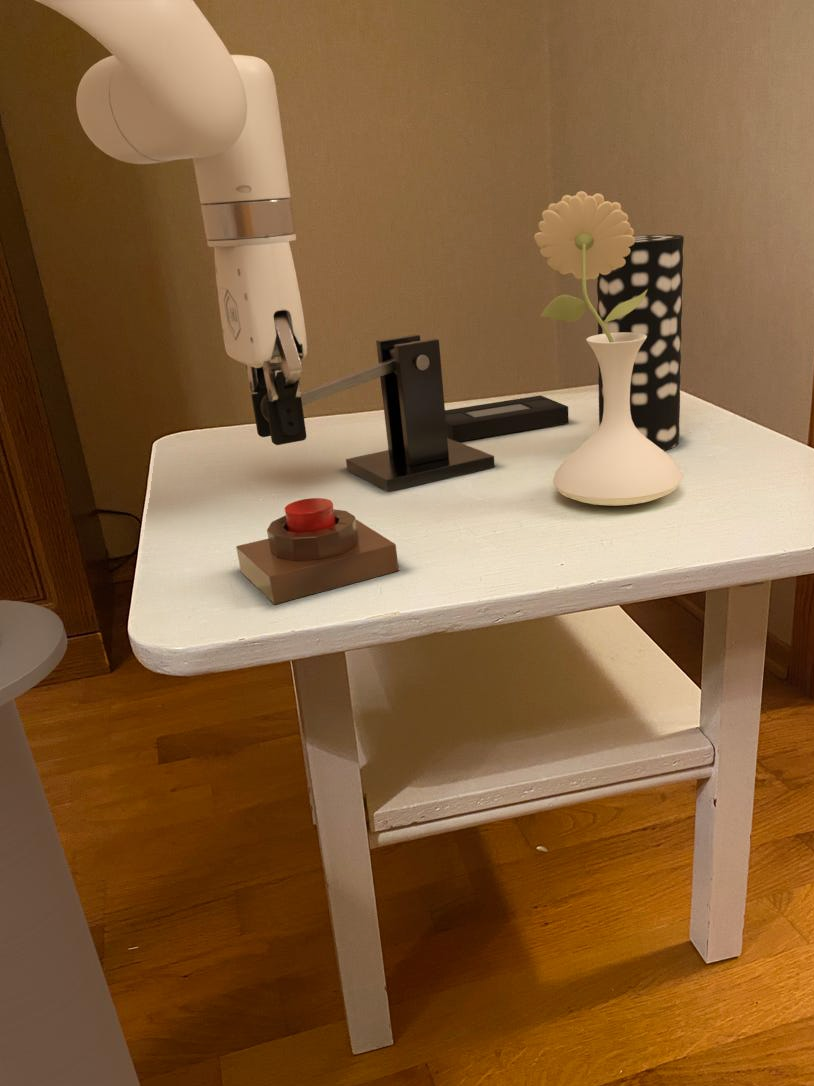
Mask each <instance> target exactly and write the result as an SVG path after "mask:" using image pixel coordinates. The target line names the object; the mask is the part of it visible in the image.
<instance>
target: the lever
mask: <svg viewBox="0 0 814 1086" xmlns="http://www.w3.org/2000/svg"><path fill="white" fill-rule="evenodd" d="M413 342H414V341H413ZM389 353H390V357H391V359H389V360H386V361H383V362H381V363H379V362H378V363H375V364H372V365H369V366H367V367H365V368H362V369H358V370H356V371H353V372H351V373H348V374H345V375H342V376H340V377H337V378H334V379H332V380H329V381H326V382H324V383H321V384H318V385H316V386H313V387H310V388H308V389H307V388H306V389H305V390H304V389H303V390H301V400H302V407H304V406H306V405H308V404H311V403H314V402H316V401H319V400H322V399H324V398H327V397H330V396H332V395H336V394H338V393H340V392H343V391H346V390H348V389H352V388H354V387H356V386H360V385H361V384H365V383H367V382H370V381H373V380H375V379H378V378H380V377H381V376H384V375H386V374H389V373H392V372H395V374H397V372H396V362H395V353H394V349H391V350H389ZM268 400H270V399H269V396H268V393H266V394H265V395H264V397H263V398H262V401H261V412H262V415H263V416H264V418H265V419H266V420H267V421H268V415H267V408H266V402H265V401H268ZM268 422H269V421H268Z"/></svg>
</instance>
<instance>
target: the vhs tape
mask: <svg viewBox="0 0 814 1086" xmlns="http://www.w3.org/2000/svg"><path fill="white" fill-rule="evenodd" d="M445 417H446V429H447V438H449V439H452V440H454V441H457V442H459V443H460V442H465V441H471V440H476V439H481V438H482V439H483V438H488V437H489V438H490V437H494V436H500V435H505V434H512V433H518V432H523V431H529V430H535V429H541V428H547V427H552V426H553V427H554V426H559V425H565V424H569V423H570V422H569V406H568V405H566V404H564V403H561V402H559V401H556V400H553V399H551V398H549V397H546V396H543V395H534V396H527V397H520V398H514V399H508V400H501V401H495V402H488V403H483V404H476V405H471V406H464V407H457V408H451V409H445Z"/></svg>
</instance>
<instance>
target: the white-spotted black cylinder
mask: <svg viewBox="0 0 814 1086" xmlns="http://www.w3.org/2000/svg"><path fill="white" fill-rule="evenodd" d="M632 236H633V237H634V238H635V243H634V244H633V245H632V246H630V247H629V248H630V254H629V255H628V256H625V257H623V258H624V259H625V261H626V263H625V265H624V266H622V267H620V268H617V269H615V270H611V272H610V273H609V274H607V275H603V274H601V273H599V276H598V277H597V278H596V308H597V309H596V312H597V314H598V315H599V317H600V318H601V319H602V321H603V322H604V321H605V319H606V318H607V316H608V315H609V314H610V312H611V311H612V310H613V309H614V308H615V307H616V306H618V305H619V304H621V303H623V302H625V301H628V300H630V299H633V298H635V297H637V296H639V295H641V294H642V293H643V292H645V291H646V290H647V289H648V290H647V292H646V295H645V297H644V298H643V300H642V301H641V303H640V304H639V305H638V306H637V307H636V308H635V309H634V310H632V311H631V312H630V313H628V314H626V315H625V316H623V317H620V318H618V319H614V320H612V321H609V322H604V324H605V325H606V327H607V329H608V330H609V332H610V333H619V332H632V333H641V334H645V335H646V336H647V338H646V340H645V341H644V342H643V344H642V345H641V347H640V349H639V351H638V353H637V355H636V358H635V361H634V365H633V370H632V375H631V384H630V413H631V418H632V421H633V423H634V426H635V427H636V428H637V429H638V431H639V432H640V433H641V434H643V435H644V436H645V437H646V438H647V439H649V440H650V441H651V442H653V443H654V444H655V445H657V446H658V447H659V448H660V449H662V450H663V451H664V452H665V451H668V450H670V449H673V448H675V447H676V446H678V445H679V444H680V426H681V425H680V422H681V420H680V418H681V375H682V334H683V333H682V331H683V330H682V327H683V289H684V288H683V287H684V243H685V242H684V241H685V240H684V239H685V238H684V237H685V236H684V235H682V234H646V235H632ZM599 334H605V332H604V330H603V329H602V327H601V325H600V324H599V323H598V322H597V335H599ZM597 368H598V369H597V376H598V377H597V378H598V384H597V385H598V428H599V427H600V425H601V422H602V418H603V412H604V393H603V382H602V375H601V370H600V366H599V362H598V361H597Z"/></svg>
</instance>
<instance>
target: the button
mask: <svg viewBox="0 0 814 1086" xmlns="http://www.w3.org/2000/svg"><path fill="white" fill-rule="evenodd" d="M334 509H335V508H334V503H333V501H332V500H330V499H328V498H324V497H323V498H321V497H313V498H304V499H299V500H295V501H293V502H290V503H288V504H287V505H285V507H284V513H285V514H284V515H286V520H287V526H288V531H290V532H297V533H304V532H316V531H320V530H324V529H328V528H330V527H332V526H334V525H336V523H335V516H334Z"/></svg>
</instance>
